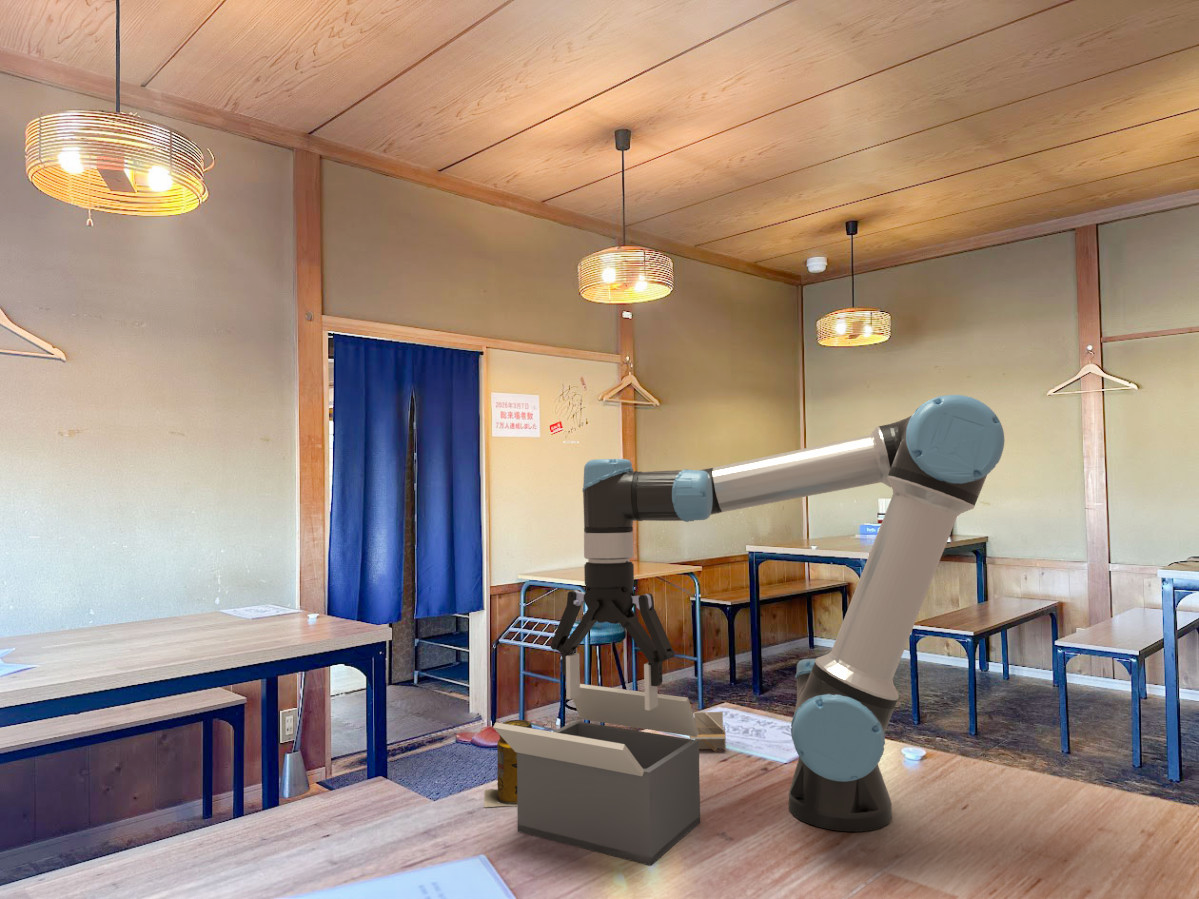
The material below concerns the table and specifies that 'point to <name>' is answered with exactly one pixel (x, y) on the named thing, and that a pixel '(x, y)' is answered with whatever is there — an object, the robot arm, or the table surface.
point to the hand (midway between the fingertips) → (611, 702)
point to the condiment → (505, 773)
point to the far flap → (635, 710)
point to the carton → (613, 796)
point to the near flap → (570, 748)
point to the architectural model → (710, 730)
